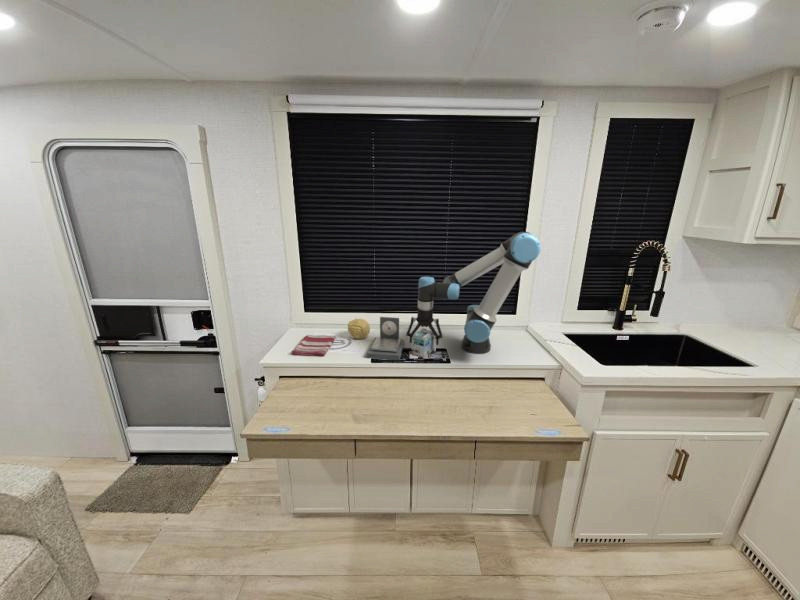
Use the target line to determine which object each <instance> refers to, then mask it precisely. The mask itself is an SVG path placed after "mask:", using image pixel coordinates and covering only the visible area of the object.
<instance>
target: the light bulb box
mask: <svg viewBox="0 0 800 600" xmlns="http://www.w3.org/2000/svg"><path fill="white" fill-rule="evenodd" d="M413 336H414V347H413V350H412V352H413V355H416V356H418V357H422V358H425V357H427V356H428V355H429V354H431V353H432V352H434V345H435V336H434V334H433V332H432V331H431V329H426V328H425V327H424V328H423V327H422V329H420V330H419V331H416V332H415V334H414V335H413Z"/></svg>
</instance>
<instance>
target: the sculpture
mask: <svg viewBox="0 0 800 600" xmlns="http://www.w3.org/2000/svg"><path fill="white" fill-rule="evenodd" d="M347 331H348V333H349V334H350V336H351V337H352V338H353V339H355V340H362V339H365V338H367V337H368V336H369V335H370V331H371V325H370V324H369V322H368V321H367V320H365V319H363V318H355V319H352V320H349V322H348V324H347Z"/></svg>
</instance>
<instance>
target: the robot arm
mask: <svg viewBox="0 0 800 600" xmlns="http://www.w3.org/2000/svg"><path fill="white" fill-rule="evenodd" d="M540 252H541V242H540V239H539V238H537V236H536V235H534V234H532V233H531V232H528V231H520V232H517V233H515V234H513V235H512V236H510V237H509V238H508V239H507V240H505V241H503V242H502V243H501V244H500V246H499V247H497V248H496V249H494V250H492V251H490V252H489V253H487V254H486V255H484V256H482V257H481V258H479V259H477V260H475V261H473V262H472V263H470V264H468V265H467V266H465V267H464V268H462V269H460V270H458V271H456V272H454V273H452V275H448V276H446V277H445V278H444V279H443V281H442V282H437V281H435V278H434V277H431V276H421V277H420V278H419V279H418V286H417V291H418V293H417V296H418V297H417V315H416V317H414V316H411V318H410V323H409V326H408V329H407V331H406V334H405V336H406V337H409V344H411V350H412V351H413V349H414V334H416V333H417V332H418V329H419V328H420V327H422V328H423V327H424V328H429V330H431V331H432V332H433V334H434V350H433V352H436V349H437V346H438V345H439V342H440V341H439V339H443V332H442V330H441V326H440V323H439V322H440V319H439V318H434V317H433V316H434V309H433V308H434V298H435V299H444V300H449V301H450V300H458V299H459V295H460V289H461V288H462V287H463V286H465V285H467V284H468V283H470V282H472V281H474V280H476V279H477V278H480V277H481V276H483V275H485V274H486V273H488V272H490V271H492V270H494V269H495V268H497V267H499V266H501V267H500V268H499V271H498V272H497V274H496V276H495V277H494V279H493V280H492V281H493V282H492V283H491V285H489V288H488V290H487V292H485V293H486V294H485V295H484V296H483V298H482V301H480V303H479V304H471V305H468V306H467V310H466V320H465V325H464V327H463V331H464V335H463V338H462V340H461V344H460V346H461V349H462V350H464V351H466V352H468V353H472V354H477V355H478V354H487V353H489V352H490V351H491V347H492V345H491V340H490V335H491V330H492V329H493V328H494V326H495V324H496V322H497V317H496V316H497V314H498V312H499V310H500V309H501V307H502V306H503V303H504V302H506V301H505V300H506V299H507V297H508V296H509V294H510V292H511V291H512V288H513V287H514V286H515V284H516V282H517V280H518V279H519V277H520V276H521V274H522V272H523V271H526V270H528V269H529V267H530V266H531V264H532V262H533V261H535V260H536V259H537V258H538V256H539V255H540ZM416 322H417V324H416V325H415V327H414V328H413V330H412V327H413V324H414V323H416ZM432 323H434V324H435V326H436V329H437V331H436V329H435V328H434V326H433V324H432ZM411 330H412V331H411Z"/></svg>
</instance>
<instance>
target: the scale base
mask: <svg viewBox="0 0 800 600" xmlns="http://www.w3.org/2000/svg"><path fill="white" fill-rule="evenodd" d="M376 338H388V339H401V341H400V344H399V348H398V351H397V352H393V351H379V350H371V347H372V345H373V343H374V341H375V339H376ZM404 345H405V339H404V338H400V317H392V316H391V317H390V316H389V317H388V316H379V337H377V336H376V337H374V338H373V341H372V343H371V345H370V347H369V348H368V351H367V352H366V358H367V359H376V360H392V361H400V360H401V356H402V353H403V349H404Z"/></svg>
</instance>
